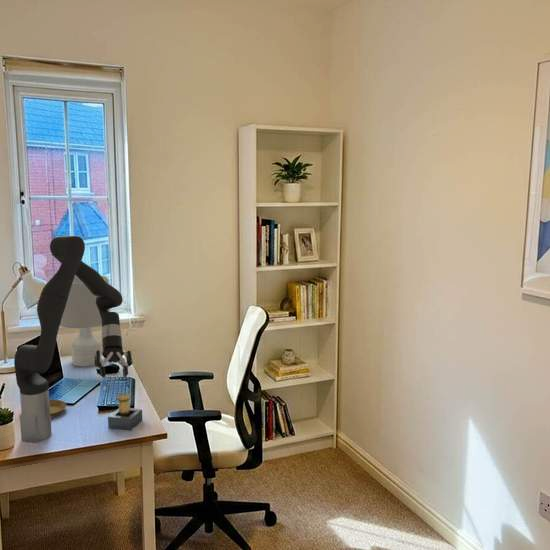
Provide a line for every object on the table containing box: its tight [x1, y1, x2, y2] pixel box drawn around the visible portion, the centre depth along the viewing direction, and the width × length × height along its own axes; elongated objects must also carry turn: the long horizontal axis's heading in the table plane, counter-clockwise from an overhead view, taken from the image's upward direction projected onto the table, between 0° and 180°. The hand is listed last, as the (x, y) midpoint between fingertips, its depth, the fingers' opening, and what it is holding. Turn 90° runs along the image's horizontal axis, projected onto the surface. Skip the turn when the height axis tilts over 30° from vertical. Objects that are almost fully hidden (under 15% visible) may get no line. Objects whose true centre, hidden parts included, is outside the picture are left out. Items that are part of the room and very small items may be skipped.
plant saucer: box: [49, 399, 67, 418], centre depth 210 cm, size 15×15×3 cm
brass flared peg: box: [116, 392, 132, 417], centre depth 200 cm, size 5×5×11 cm
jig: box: [107, 407, 143, 432], centre depth 200 cm, size 9×9×4 cm
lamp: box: [59, 274, 111, 368], centre depth 266 cm, size 24×24×42 cm
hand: (114, 376), depth 209 cm, fingers open, 8 cm apart
